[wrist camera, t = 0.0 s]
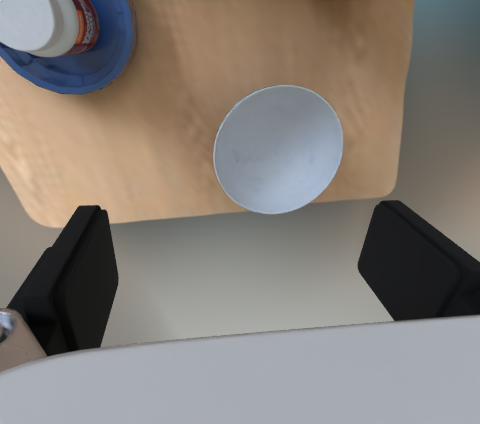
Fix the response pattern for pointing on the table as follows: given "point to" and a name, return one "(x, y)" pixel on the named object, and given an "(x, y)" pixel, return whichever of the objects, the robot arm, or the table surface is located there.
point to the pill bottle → (49, 26)
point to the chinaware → (278, 149)
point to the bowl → (84, 54)
